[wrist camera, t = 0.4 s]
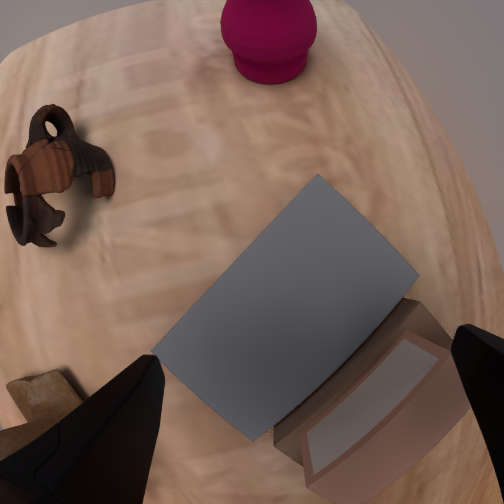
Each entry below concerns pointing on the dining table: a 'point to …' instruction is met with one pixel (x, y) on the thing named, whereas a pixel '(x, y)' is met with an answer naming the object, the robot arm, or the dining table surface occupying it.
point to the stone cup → (37, 408)
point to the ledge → (357, 370)
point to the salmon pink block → (384, 422)
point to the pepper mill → (269, 37)
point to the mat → (287, 311)
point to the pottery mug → (50, 175)
